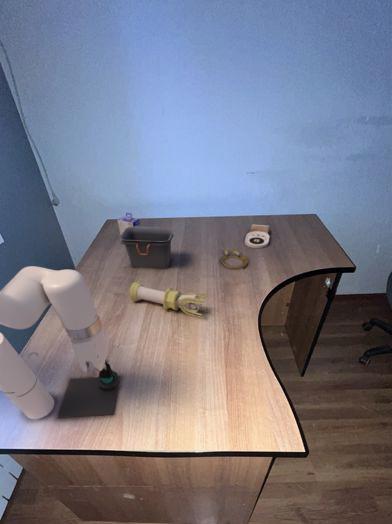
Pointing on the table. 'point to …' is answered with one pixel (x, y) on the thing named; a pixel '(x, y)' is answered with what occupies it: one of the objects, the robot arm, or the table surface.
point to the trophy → (169, 298)
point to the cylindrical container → (22, 383)
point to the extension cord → (235, 252)
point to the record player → (257, 236)
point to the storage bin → (148, 246)
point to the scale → (89, 397)
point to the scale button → (107, 380)
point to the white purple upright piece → (127, 222)
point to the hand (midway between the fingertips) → (106, 375)
